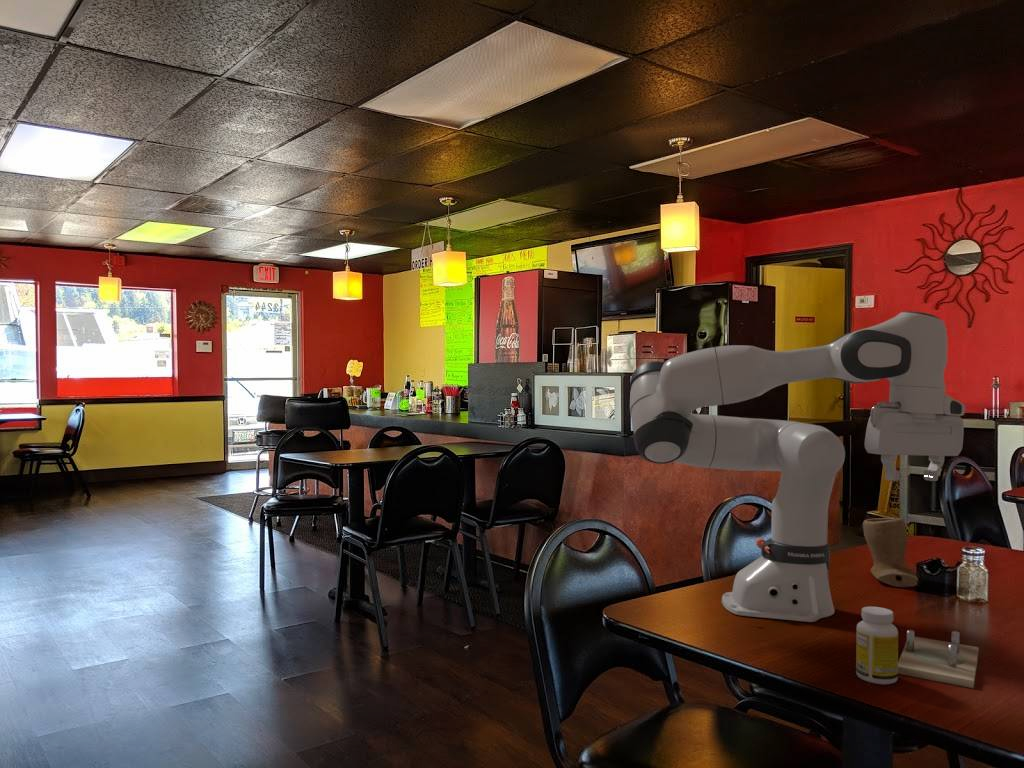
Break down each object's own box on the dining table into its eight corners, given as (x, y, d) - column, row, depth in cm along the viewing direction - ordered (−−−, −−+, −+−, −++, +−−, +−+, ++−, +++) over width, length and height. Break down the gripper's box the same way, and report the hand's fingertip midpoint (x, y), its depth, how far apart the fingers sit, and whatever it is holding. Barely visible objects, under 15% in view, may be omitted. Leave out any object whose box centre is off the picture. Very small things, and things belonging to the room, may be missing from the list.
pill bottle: (902, 677, 128) (903, 610, 128) (891, 689, 123) (892, 619, 123) (862, 667, 132) (864, 602, 132) (850, 678, 127) (851, 610, 127)
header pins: (956, 668, 129) (956, 646, 129) (903, 658, 133) (903, 637, 133) (959, 652, 136) (959, 632, 136) (909, 643, 141) (909, 623, 141)
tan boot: (859, 570, 197) (860, 511, 197) (912, 575, 193) (913, 514, 193) (866, 586, 182) (867, 522, 182) (923, 591, 179) (924, 525, 178)
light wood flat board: (973, 688, 124) (973, 680, 124) (896, 673, 130) (896, 665, 130) (978, 654, 139) (978, 646, 139) (909, 642, 145) (909, 635, 145)
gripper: (887, 401, 133) (882, 483, 134) (972, 406, 141) (967, 483, 141) (858, 400, 139) (853, 477, 139) (941, 404, 147) (936, 478, 147)
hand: (911, 480), depth 140 cm, fingers open, 8 cm apart
